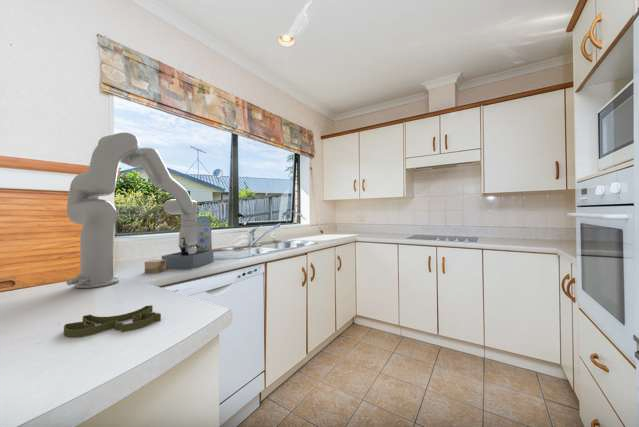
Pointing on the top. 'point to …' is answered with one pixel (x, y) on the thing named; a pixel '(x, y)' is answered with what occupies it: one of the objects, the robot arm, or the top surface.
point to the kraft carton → (155, 266)
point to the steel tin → (191, 250)
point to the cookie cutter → (111, 323)
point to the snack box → (204, 233)
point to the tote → (188, 259)
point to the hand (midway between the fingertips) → (189, 258)
